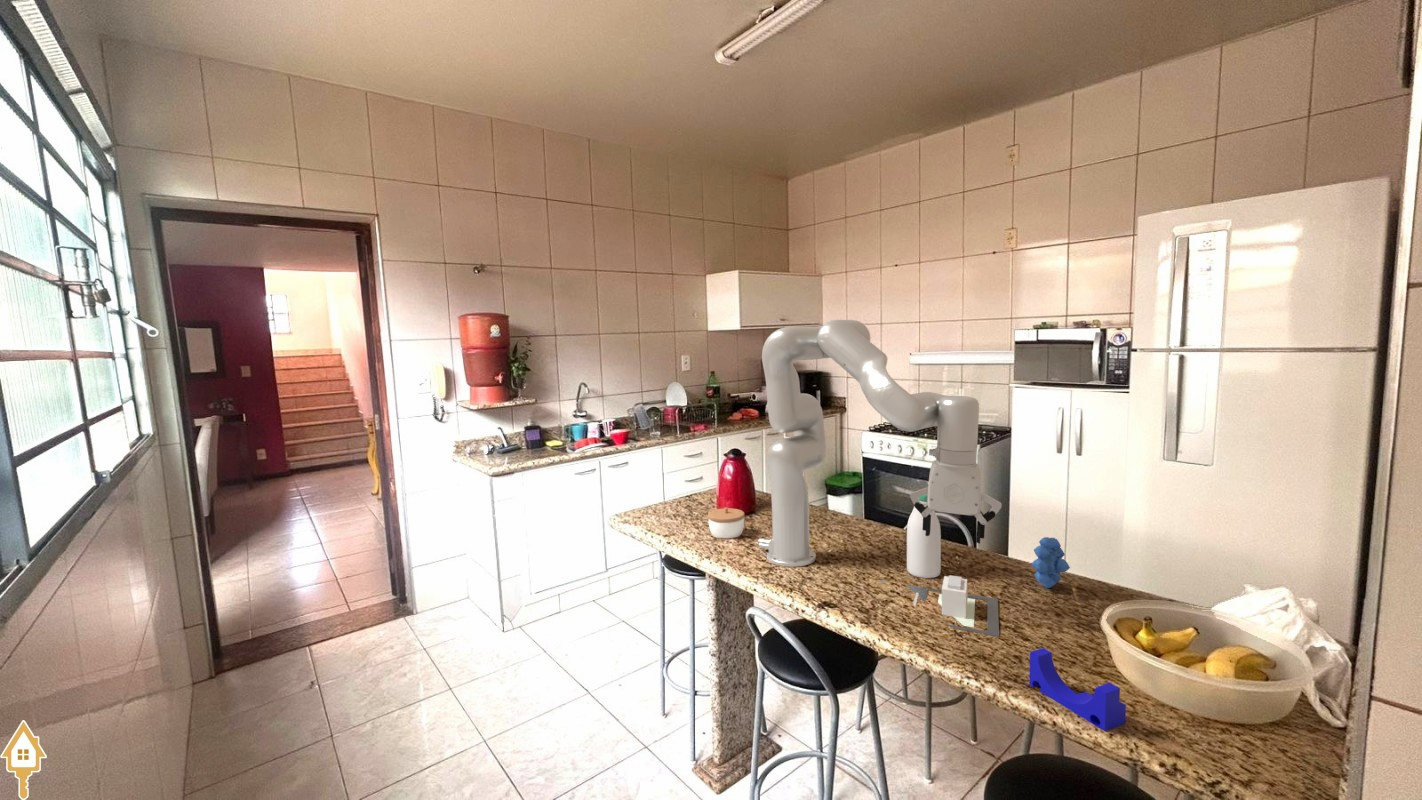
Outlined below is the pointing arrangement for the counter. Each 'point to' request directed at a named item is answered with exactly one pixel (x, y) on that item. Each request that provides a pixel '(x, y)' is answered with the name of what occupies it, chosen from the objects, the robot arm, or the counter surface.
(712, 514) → the lidded jar
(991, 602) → the two-window grey frame
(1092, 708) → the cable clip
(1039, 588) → the counter surface
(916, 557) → the milk bottle
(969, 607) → the port pad
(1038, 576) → the grapes
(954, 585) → the plug
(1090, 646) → the counter surface
